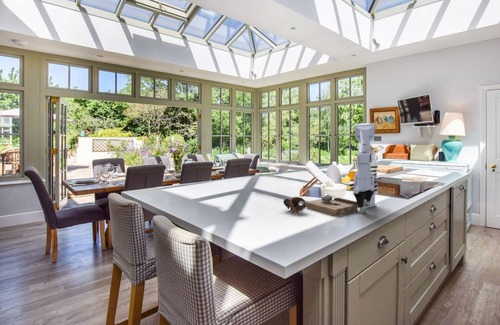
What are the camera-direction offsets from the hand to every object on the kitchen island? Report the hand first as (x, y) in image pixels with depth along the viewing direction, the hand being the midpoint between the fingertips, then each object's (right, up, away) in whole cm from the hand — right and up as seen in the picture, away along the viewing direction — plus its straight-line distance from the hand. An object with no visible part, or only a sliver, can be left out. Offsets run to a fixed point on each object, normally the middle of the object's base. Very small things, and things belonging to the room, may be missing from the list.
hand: (363, 206), depth 140 cm
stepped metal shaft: (0, -4, 0) cm, 4 cm away
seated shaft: (-15, -3, +12) cm, 19 cm away
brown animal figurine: (-32, -4, +8) cm, 33 cm away
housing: (-13, -3, +10) cm, 17 cm away
